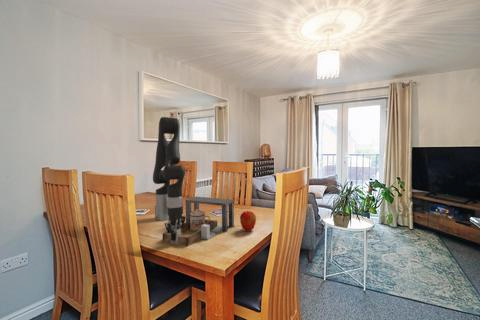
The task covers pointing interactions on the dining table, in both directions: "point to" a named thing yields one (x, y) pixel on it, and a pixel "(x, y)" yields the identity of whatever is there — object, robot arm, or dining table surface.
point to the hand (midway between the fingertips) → (175, 238)
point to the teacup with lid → (197, 219)
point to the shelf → (213, 202)
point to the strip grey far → (217, 229)
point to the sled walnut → (184, 239)
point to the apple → (248, 220)
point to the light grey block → (206, 232)
